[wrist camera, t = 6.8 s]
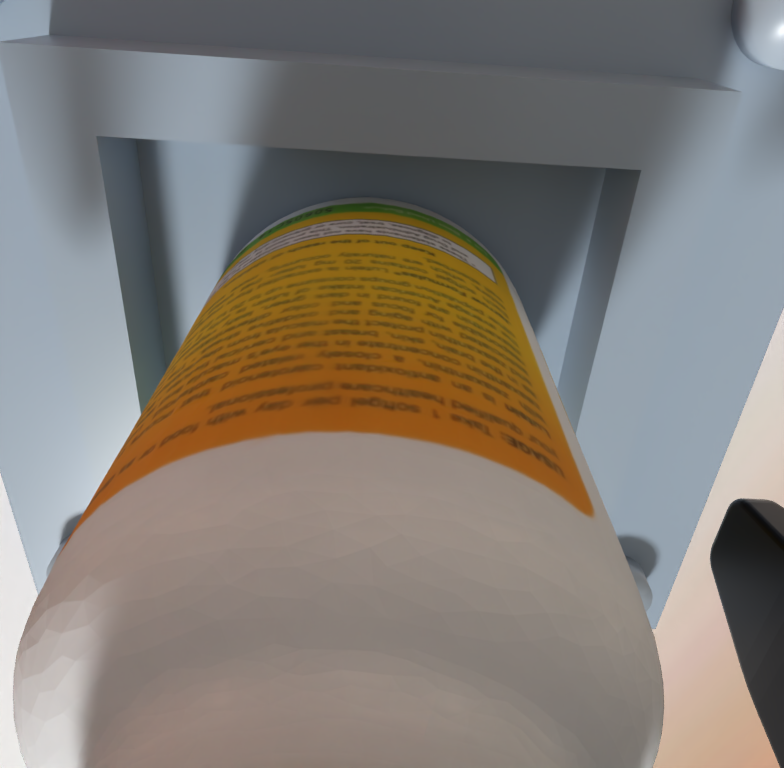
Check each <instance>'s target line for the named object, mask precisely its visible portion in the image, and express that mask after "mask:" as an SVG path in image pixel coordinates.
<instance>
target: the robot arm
mask: <svg viewBox="0 0 784 768" xmlns="http://www.w3.org/2000/svg"><path fill="white" fill-rule="evenodd" d="M710 562H711V568H712V572H713V575H714V579H715V582H716V586H717V589H718V592H719V596H720V599H721V602H722V606H723V609H724V612H725V616H726V619H727V622H728V626H729V629H730V632H731V636H732V639H733V642H734V646H735V649H736V653H737V656H738V659H739V663H740V666H741V669H742V672H743V675H744V678H745V681H746V684H747V687H748V690H749V692H750V695H751V697H752V700H753V702H754V705H755V708H756V710H757V712H758V715H759V717H760V720H761V722H762V725H763V727H764V729H765V732H766V734H767V737H768V739H769V741H770V744H771V746H772V749H773V751H774V753H775V756H776V758H777V761H778V763H779V766H780V768H784V508H783V507H781V506H780V505H778V504H777V503H775V502H773V501H770V500H763V499H737V500H735V501H733V502H732V503H731V504H730V506H729V507H728V509H727V512H726V514H725V517H724V519H723V521H722V524H721V526H720V528H719V531H718V533H717V536H716V538H715V540H714V543H713V545H712V548H711V554H710Z"/></svg>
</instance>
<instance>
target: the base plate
mask: <svg viewBox="0 0 784 768" xmlns="http://www.w3.org/2000/svg"><path fill="white" fill-rule="evenodd" d="M355 197H374V198H383V199H391V200H396V201H401V202H406V203H409V204H413V205H416V206H419V207H422V208H424V209H427V210H430V211H432V212H434V213H437V214H439V215H441V216H442V217H444V218H446V219H448V220H450V221H452V222H453V223H455V224H457V225H458V226H460V227H461V228H463V229H464V230H466V231H467V232H468V233H470V234H471V235H472V236H473V237H475V238H476V239H477V240H478V241H479V242H480V243H482V244H483V245H484V246H485V247H486V248H487V249H488V250H489V251H490V253H491V254H492V255H493V256H494V257H495V258H496V259H497V260H498V262H499V263H500V264H501V266H502V267H503V269H504V270H505V272H506V273H507V275H508V277H509V279H510V280H511V282H512V284H513V286H514V287H515V289H516V291H517V293H518V296H519V298H520V300H521V302H522V305H523V307H524V310H525V312H526V315H527V317H528V320H529V322H530V324H531V327H532V329H533V331H534V334H535V336H536V339H537V341H538V343H539V346H540V349H541V351H542V354H543V356H544V358H545V361H546V364H547V366H548V369H549V371H550V374H551V376H552V379H553V381H554V384H555V386H556V389H557V391H558V394H559V396H560V399H561V401H562V404H563V406H564V408H565V411H566V413H567V416H568V418H569V421H570V423H571V426H572V428H573V431H574V433H575V435H576V438H577V440H578V443H579V445H580V448H581V450H582V453H583V455H584V457H585V460H586V462H587V465H588V467H589V470H590V472H591V474H592V477H593V479H594V482H595V484H596V487H597V489H598V492H599V494H600V497H601V499H602V501H603V504H604V506H605V509H606V511H607V514H608V516H609V518H610V521H611V523H612V525H613V528H614V530H615V533H616V535H617V538H618V540H619V543H620V545H621V547H622V550H623V552H624V555H625V557H626V560H627V562H628V565H629V567H630V570H631V572H632V575H633V577H634V580H635V582H636V585H637V588H638V590H639V593H640V596H641V599H642V602H643V605H644V608H645V611H646V614H647V617H648V620H649V623H650V626H651V629H656V626H657V624H658V621H659V619H660V616H661V614H662V611H663V609H664V606H665V604H666V601H667V599H668V596H669V594H670V591H671V589H672V586H673V584H674V581H675V579H676V576H677V574H678V571H679V569H680V566H681V564H682V561H683V559H684V556H685V554H686V551H687V548H688V546H689V543H690V541H691V538H692V536H693V533H694V531H695V528H696V526H697V523H698V521H699V518H700V516H701V513H702V511H703V508H704V506H705V503H706V501H707V498H708V496H709V493H710V491H711V488H712V486H713V483H714V481H715V478H716V476H717V473H718V471H719V468H720V466H721V463H722V461H723V458H724V456H725V453H726V451H727V448H728V446H729V443H730V441H731V438H732V436H733V433H734V431H735V428H736V426H737V423H738V421H739V418H740V416H741V413H742V410H743V408H744V405H745V403H746V400H747V398H748V395H749V393H750V390H751V388H752V385H753V383H754V380H755V378H756V375H757V373H758V370H759V368H760V365H761V363H762V360H763V358H764V355H765V353H766V350H767V348H768V345H769V343H770V340H771V338H772V335H773V333H774V330H775V328H776V325H777V323H778V320H779V318H780V315H781V313H782V310H783V308H784V0H0V473H1V476H2V479H3V482H4V486H5V489H6V492H7V495H8V499H9V502H10V505H11V508H12V512H13V515H14V518H15V521H16V525H17V528H18V531H19V534H20V537H21V541H22V544H23V547H24V550H25V554H26V557H27V560H28V563H29V567H30V570H31V573H32V576H33V579H34V583H35V586H36V589H37V592H38V595H39V593H40V591H41V589H42V588H43V586H44V584H45V582H46V580H47V578H48V576H49V574H50V571H51V569H52V567H53V565H54V563H55V561H56V559H57V557H58V556H59V554H60V552H61V551H62V549H63V547H64V545H65V544H66V542H67V540H68V539H69V537H70V535H71V534H72V532H73V530H74V529H75V527H76V525H77V524H78V522H79V520H80V518H81V517H82V515H83V513H84V512H85V510H86V508H87V506H88V505H89V503H90V501H91V500H92V498H93V496H94V494H95V493H96V491H97V489H98V488H99V486H100V484H101V482H102V481H103V479H104V477H105V475H106V474H107V472H108V470H109V469H110V467H111V465H112V463H113V462H114V460H115V458H116V457H117V455H118V453H119V452H120V450H121V448H122V447H123V445H124V443H125V442H126V440H127V438H128V437H129V435H130V433H131V431H132V430H133V428H134V426H135V424H136V423H137V421H138V419H139V417H140V416H141V414H142V412H143V411H144V409H145V407H146V405H147V404H148V402H149V400H150V399H151V397H152V395H153V393H154V392H155V390H156V388H157V386H158V385H159V383H160V381H161V379H162V378H163V376H164V374H165V372H166V371H167V369H168V367H169V366H170V364H171V362H172V360H173V359H174V357H175V355H176V354H177V352H178V350H179V349H180V347H181V345H182V343H183V342H184V340H185V338H186V336H187V334H188V333H189V331H190V329H191V327H192V326H193V324H194V322H195V320H196V319H197V317H198V315H199V314H200V312H201V310H202V308H203V306H204V305H205V303H206V301H207V299H208V297H209V296H210V294H211V292H212V291H213V289H214V287H215V286H216V284H217V282H218V281H219V279H220V277H221V276H222V274H223V273H224V271H225V270H226V268H227V267H228V266H229V265H230V263H231V262H232V261H233V259H234V258H235V257H236V255H237V254H238V253H239V252H240V251H241V250H242V249H243V248H244V247H245V245H246V244H247V243H249V242H250V241H251V240H252V239H253V238H254V237H255V236H256V235H258V234H259V233H260V232H261V231H263V230H264V229H265V228H267V227H268V226H269V225H271V224H273V223H274V222H276V221H277V220H279V219H281V218H283V217H285V216H287V215H289V214H291V213H293V212H296V211H298V210H301V209H304V208H306V207H309V206H312V205H316V204H319V203H323V202H327V201H332V200H338V199H345V198H355Z"/></svg>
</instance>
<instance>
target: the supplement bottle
mask: <svg viewBox="0 0 784 768" xmlns="http://www.w3.org/2000/svg"><path fill="white" fill-rule="evenodd" d="M13 704H14V722H15V727H16V732H17V737H18V741H19V746H20V751H21V754H22V757H23V759H24V761H25V764H26V766H27V768H653V765H654V762H655V759H656V756H657V753H658V749H659V744H660V739H661V734H662V726H663V714H664V691H663V679H662V672H661V665H660V661H659V656H658V651H657V647H656V642H655V637H654V635H653V632H652V629H651V626H650V623H649V620H648V617H647V614H646V611H645V608H644V605H643V602H642V599H641V596H640V593H639V590H638V588H637V585H636V582H635V580H634V577H633V575H632V572H631V570H630V567H629V565H628V562H627V560H626V557H625V555H624V552H623V550H622V547H621V545H620V543H619V540H618V538H617V535H616V533H615V530H614V528H613V525H612V523H611V521H610V518H609V516H608V514H607V511H606V509H605V506H604V504H603V501H602V499H601V497H600V494H599V492H598V489H597V487H596V484H595V482H594V479H593V477H592V474H591V472H590V470H589V467H588V465H587V462H586V460H585V457H584V455H583V453H582V450H581V448H580V445H579V443H578V440H577V438H576V435H575V433H574V431H573V428H572V426H571V423H570V421H569V418H568V416H567V413H566V411H565V408H564V406H563V404H562V401H561V399H560V396H559V394H558V391H557V389H556V386H555V384H554V381H553V379H552V376H551V374H550V371H549V369H548V366H547V364H546V361H545V358H544V356H543V354H542V351H541V349H540V346H539V343H538V341H537V339H536V336H535V334H534V331H533V329H532V327H531V324H530V322H529V320H528V317H527V315H526V312H525V310H524V307H523V305H522V302H521V300H520V298H519V296H518V293H517V291H516V289H515V287H514V286H513V284H512V282H511V280H510V279H509V277H508V275H507V273H506V272H505V270H504V269H503V267H502V266H501V264H500V263H499V262H498V260H497V259H496V258H495V257H494V256H493V255H492V254H491V253H490V251H489V250H488V249H487V248H486V247H485V246H484V245H483V244H482V243H480V242H479V241H478V240H477V239H476V238H475V237H473V236H472V235H471V234H470V233H468V232H467V231H466V230H464V229H463V228H461V227H460V226H458V225H457V224H455V223H453V222H452V221H450V220H448V219H446V218H444V217H442V216H441V215H439V214H437V213H434V212H432V211H430V210H427V209H424V208H422V207H419V206H416V205H413V204H409V203H406V202H401V201H396V200H391V199H383V198H374V197H355V198H345V199H338V200H332V201H327V202H323V203H319V204H316V205H312V206H309V207H306V208H304V209H301V210H298V211H296V212H293V213H291V214H289V215H287V216H285V217H283V218H281V219H279V220H277V221H276V222H274V223H273V224H271V225H269V226H268V227H267V228H265V229H264V230H263V231H261V232H260V233H259V234H258V235H256V236H255V237H254V238H253V239H252V240H251V241H250V242H249V243H247V244H246V245H245V247H244V248H243V249H242V250H241V251H240V252H239V253H238V254H237V255H236V257H235V258H234V259H233V261H232V262H231V263H230V265H229V266H228V267H227V268H226V270H225V271H224V273H223V274H222V276H221V277H220V279H219V281H218V282H217V284H216V286H215V287H214V289H213V291H212V292H211V294H210V296H209V297H208V299H207V301H206V303H205V305H204V306H203V308H202V310H201V312H200V314H199V315H198V317H197V319H196V320H195V322H194V324H193V326H192V327H191V329H190V331H189V333H188V334H187V336H186V338H185V340H184V342H183V343H182V345H181V347H180V349H179V350H178V352H177V354H176V355H175V357H174V359H173V360H172V362H171V364H170V366H169V367H168V369H167V371H166V372H165V374H164V376H163V378H162V379H161V381H160V383H159V385H158V386H157V388H156V390H155V392H154V393H153V395H152V397H151V399H150V400H149V402H148V404H147V405H146V407H145V409H144V411H143V412H142V414H141V416H140V417H139V419H138V421H137V423H136V424H135V426H134V428H133V430H132V431H131V433H130V435H129V437H128V438H127V440H126V442H125V443H124V445H123V447H122V448H121V450H120V452H119V453H118V455H117V457H116V458H115V460H114V462H113V463H112V465H111V467H110V469H109V470H108V472H107V474H106V475H105V477H104V479H103V481H102V482H101V484H100V486H99V488H98V489H97V491H96V493H95V494H94V496H93V498H92V500H91V501H90V503H89V505H88V506H87V508H86V510H85V512H84V513H83V515H82V517H81V518H80V520H79V522H78V524H77V525H76V527H75V529H74V530H73V532H72V534H71V535H70V537H69V539H68V540H67V542H66V544H65V545H64V547H63V549H62V551H61V552H60V554H59V556H58V557H57V559H56V561H55V563H54V565H53V567H52V569H51V571H50V574H49V576H48V578H47V580H46V582H45V584H44V586H43V588H42V589H41V591H40V593H39V595H38V597H37V599H36V601H35V603H34V606H33V608H32V611H31V613H30V616H29V618H28V621H27V623H26V626H25V629H24V632H23V635H22V638H21V641H20V644H19V648H18V651H17V655H16V662H15V670H14V685H13Z"/></svg>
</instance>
